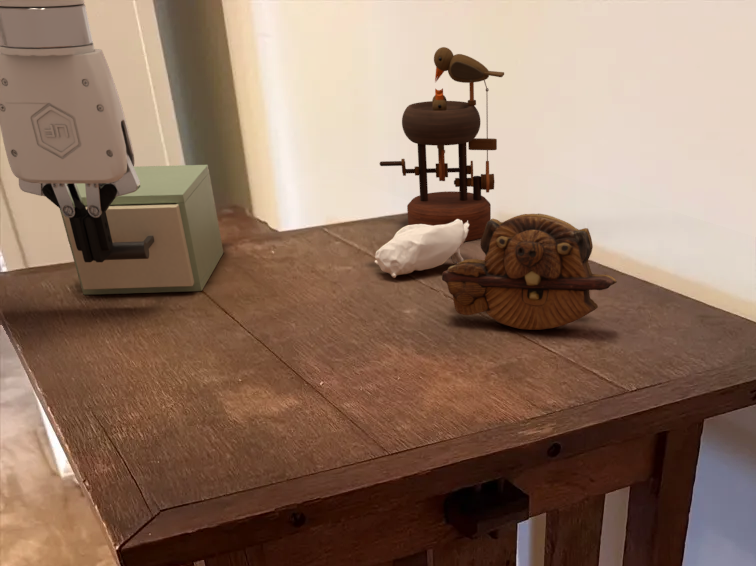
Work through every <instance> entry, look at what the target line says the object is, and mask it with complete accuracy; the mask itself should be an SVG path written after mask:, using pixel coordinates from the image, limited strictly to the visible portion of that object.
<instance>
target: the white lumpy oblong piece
mask: <svg viewBox="0 0 756 566" xmlns="http://www.w3.org/2000/svg"><path fill="white" fill-rule="evenodd" d="M468 227H469V224H468V221H467V222H466V223H464V225H463V222H462V220H459V219H456V220H455V221H454V222H452V223H449V224H444V225H434V226H432V225H426V224H414V225H408V224H407V225H405V226H403V227H401V228H400V229H399V230H398V231H396V232H395V234H394V236H393V237H392V238H391V239H390V240H389V241H387V242H386V243H385V244H383V245H382V246H380V248H379V249H377V250H376V251H375V257H374V258H375V260H374V264H376V265H377V266H378V267H379V268H380V270H381V271H382V272H384V273H388V274H389V275H390V276H391V277H392V278H393V279H395V278H397V276H401V275H408V274H411V273H413V272H414V271H424V270H430V269H434V268H436V267H439V266H442V265H443V264H445V263H446V262H447V261H448V260H449V259H450V258H451V262H452V263H453V264H455V263H456V264H458V263H460V262H462V261H463V260H464V258H463V256H462V255H461V245H462V244H464V243H465V242H466V241H465V239H466V237H467V234H468V231H469V230H468Z"/></svg>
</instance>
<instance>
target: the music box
mask: <svg viewBox="0 0 756 566" xmlns="http://www.w3.org/2000/svg"><path fill="white" fill-rule="evenodd" d="M433 63H434V66H435V75H434V76H435V77H434V83H437V82H438V80H439V79H440V78H441V76H442V75H443V73H445V72H447V73H448V75H449V77H450V78H451V79H452V80H453V81H454V82H458V83H464V84H469V85H468V86H469V99H468V100H467V101H460V100H459V101H458V100H447V98H446V96H445V95H444V88H441V89H437V88H435V89H434V96H433V97H432V100H430V101H429V100H428V101H421V102H419V101H418V102H413V103H411V104H409V105H407V106H406V108H405V110H403V114H402V117H401V127H402V130H403V133H404V135H405V137H406V138H407V139H408V140H409V141H410V142H412V143H414V144H417V161H418V163H417V164H418V165H417V166H416V165H415V166H414V168H406V160H405V158H401V160H394V161H393V160H389V161H385V160H383V161H379V166H380V167H401V173H402V176H404V177H406V176H407V174H414V176H418V182H419V183H418V184H419V195H416V196H415V197H413V198H412V199H411V200H410V202H408V204H407V206H406V207H407V209H406V211H407V225H414V224H426V225H432V226H434V225H444V224H449V223H452V222H454V221H455V220H456V219H459V220H462V222H463V225H464V223H466V222H467V221H468V224H469V227H468V230H469V231H468V234H467V237H466V239H465V241H464V242H470V241H475V240H479V239H482V236H483V234H484V231H485V227H486V224H487V222H488V221H490V220H491V219H492V218H491V217H492V216H491V215H492V213H491V209H492V208H491V202H490V201H489V200H488V199H487V198H486V197H485V196H483V195H482V191H483V190H484V191H485V193H486V194H487V193H490V191H491V190H492V191H493V190H495V174H494V173H490V161H489V151H496V150H498V139H497V138H488V137H489V127H488V126H489V124H488V123H489V120H488V119H489V118H488V117H489V115H488V113H489V111H488V109H489V108H488V107H489V106H488V104H489V103H488V98H489V97H488V96H489V95H488V93H489V91H490V90H489V87H488V86H487V83H486V80H487V79H489V77H495V78H496V77H497V78H503V76H504V75H505V72H504V71H495V70H489V69H488V67H486V66H485V65H484V64H483V63H481V62H480V61H478V60H476V59H475V58H473V57H471V56H468V55H466V54H462V53H456V54H454V53H453V52H452V50H451V49H450V48H448V47H445V46H441V47H439V48H438V49H436V51H435V53H434V55H433ZM480 82H484V86H485V92H486V93H485V95H486V137H485V138H484V137H483V138H482V137H478V138H476V137H477V135H478V134H479V132H480V128H481V116H480V112H479V110H478V108H477V107H476V106H477V100H476V99H475V83H480ZM467 144H468V145H467ZM455 145H456V146H457V147H458V149H457V151H458V152H457V153H458V167H449V163H448V162H445V161H446V160H445V154H446V149H445V146H455ZM427 146H436V149H437V157H438V158H437V159H438V160H437V161H438V162H437V163H435V168H434V167H432V168H431V167H430V168H429V167H428V166H427V164H428V163H427ZM467 147H468V148H467ZM467 149H468V150H469V151H486V160H485V173H480V175H474V160H470V164H469V165H468V160H467V159H468V157H467V156H468V155H467V152H468V151H467ZM449 173H458V177H455V178H454V180H453V185H454V186H455V188H459V189H458V191H455V190H454V191H451V190H450V191H435V192H429V190H428V189H429V187H428V174H435V178H436V179H437V178H438V181H439V182H446V178H449ZM468 175H470V177H468ZM469 187H470V188H471V187H472V192H469V191H468V188H469Z"/></svg>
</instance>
